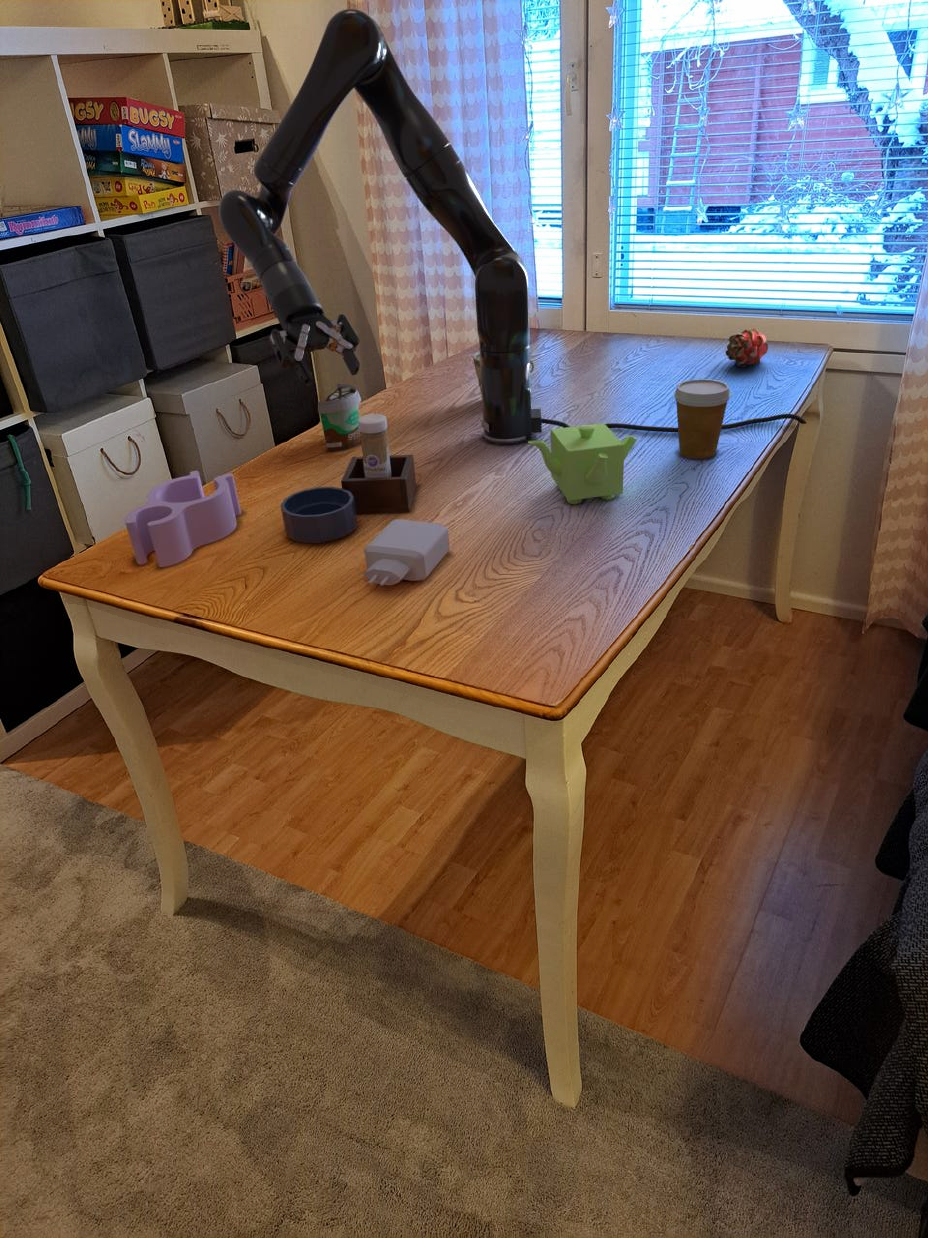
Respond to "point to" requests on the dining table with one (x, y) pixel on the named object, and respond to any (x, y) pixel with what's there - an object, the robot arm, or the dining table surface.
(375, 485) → the box
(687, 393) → the disposable coffee cup
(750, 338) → the dragon fruit
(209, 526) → the clip
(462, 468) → the dining table surface
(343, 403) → the food container
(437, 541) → the charger
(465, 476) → the dining table surface
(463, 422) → the dining table surface
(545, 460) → the kettle
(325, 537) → the bowl
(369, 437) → the sprinkles bottle
